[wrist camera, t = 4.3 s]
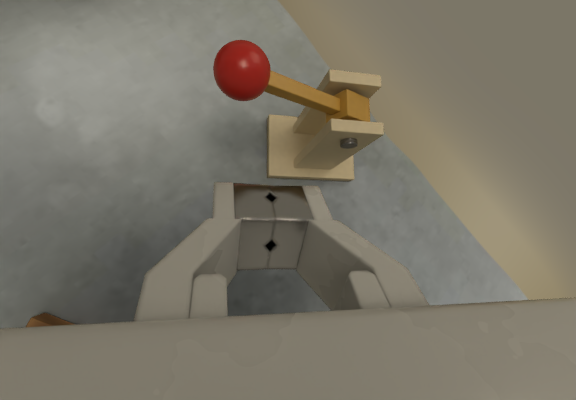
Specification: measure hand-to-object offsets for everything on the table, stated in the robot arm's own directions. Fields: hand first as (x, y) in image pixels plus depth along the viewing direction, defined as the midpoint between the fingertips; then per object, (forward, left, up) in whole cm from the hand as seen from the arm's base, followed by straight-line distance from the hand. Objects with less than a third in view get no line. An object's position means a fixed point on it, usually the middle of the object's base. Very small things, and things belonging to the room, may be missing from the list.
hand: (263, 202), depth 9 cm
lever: (-1, +10, -13) cm, 17 cm away
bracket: (+4, +13, -25) cm, 28 cm away
